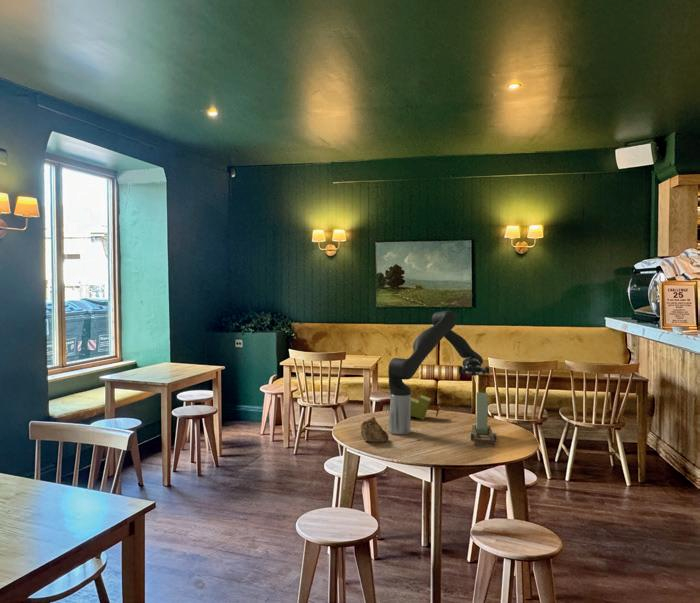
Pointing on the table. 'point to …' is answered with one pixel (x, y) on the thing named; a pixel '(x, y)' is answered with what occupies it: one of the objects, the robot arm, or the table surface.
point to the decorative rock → (373, 431)
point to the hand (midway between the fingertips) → (474, 372)
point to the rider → (482, 413)
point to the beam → (483, 438)
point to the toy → (421, 407)
